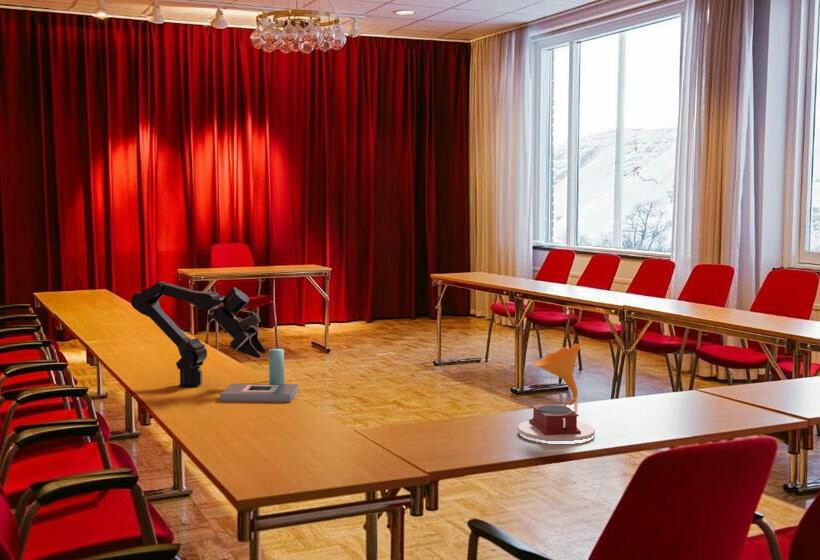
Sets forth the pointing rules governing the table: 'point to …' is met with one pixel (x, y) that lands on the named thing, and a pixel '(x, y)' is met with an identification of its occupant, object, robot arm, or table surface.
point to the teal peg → (276, 366)
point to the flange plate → (259, 393)
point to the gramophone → (558, 418)
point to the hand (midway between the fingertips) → (262, 355)
